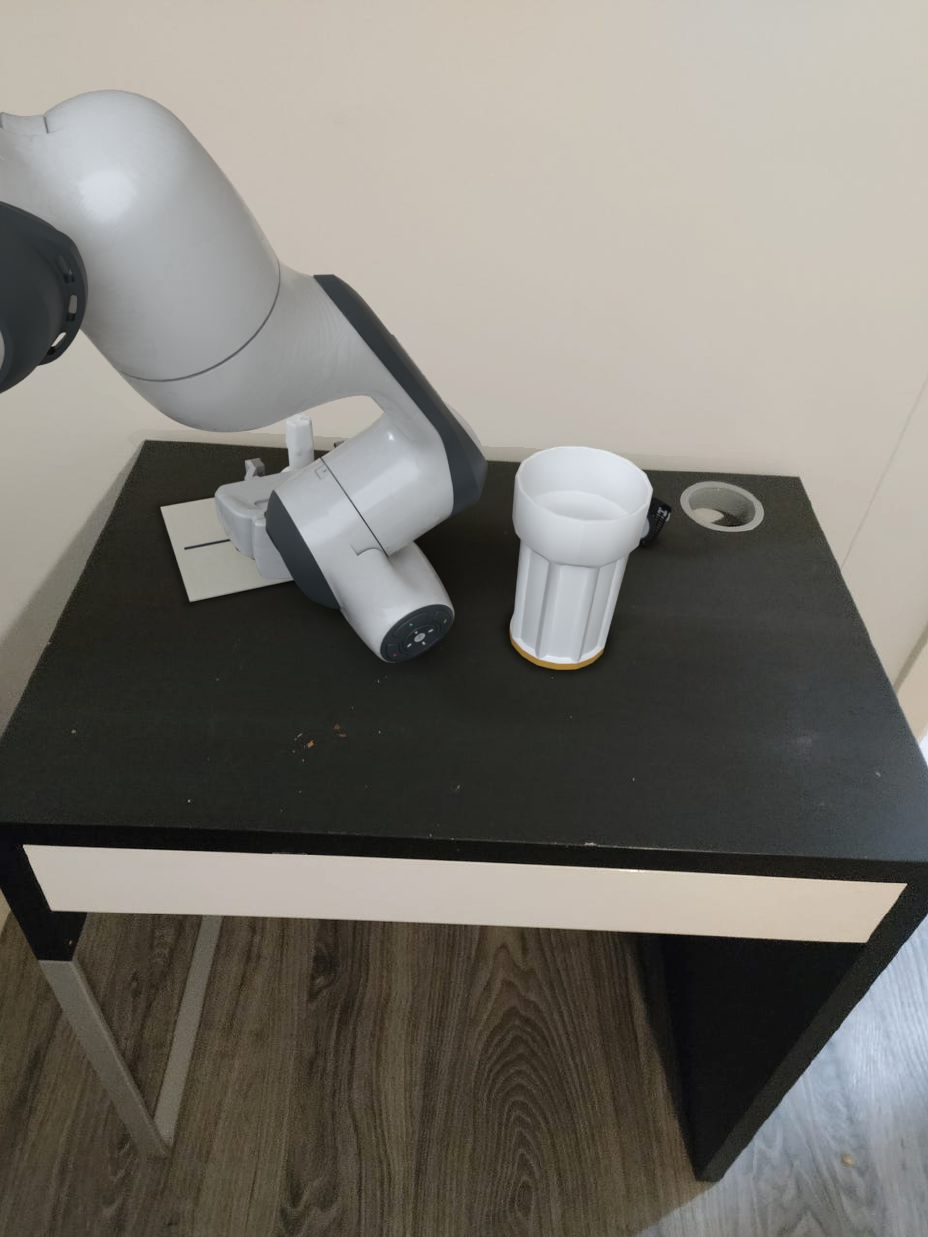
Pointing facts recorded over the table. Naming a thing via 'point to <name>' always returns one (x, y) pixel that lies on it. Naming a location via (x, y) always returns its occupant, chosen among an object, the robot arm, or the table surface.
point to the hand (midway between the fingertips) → (297, 455)
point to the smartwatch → (650, 521)
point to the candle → (299, 442)
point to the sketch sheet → (209, 552)
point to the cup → (573, 550)
